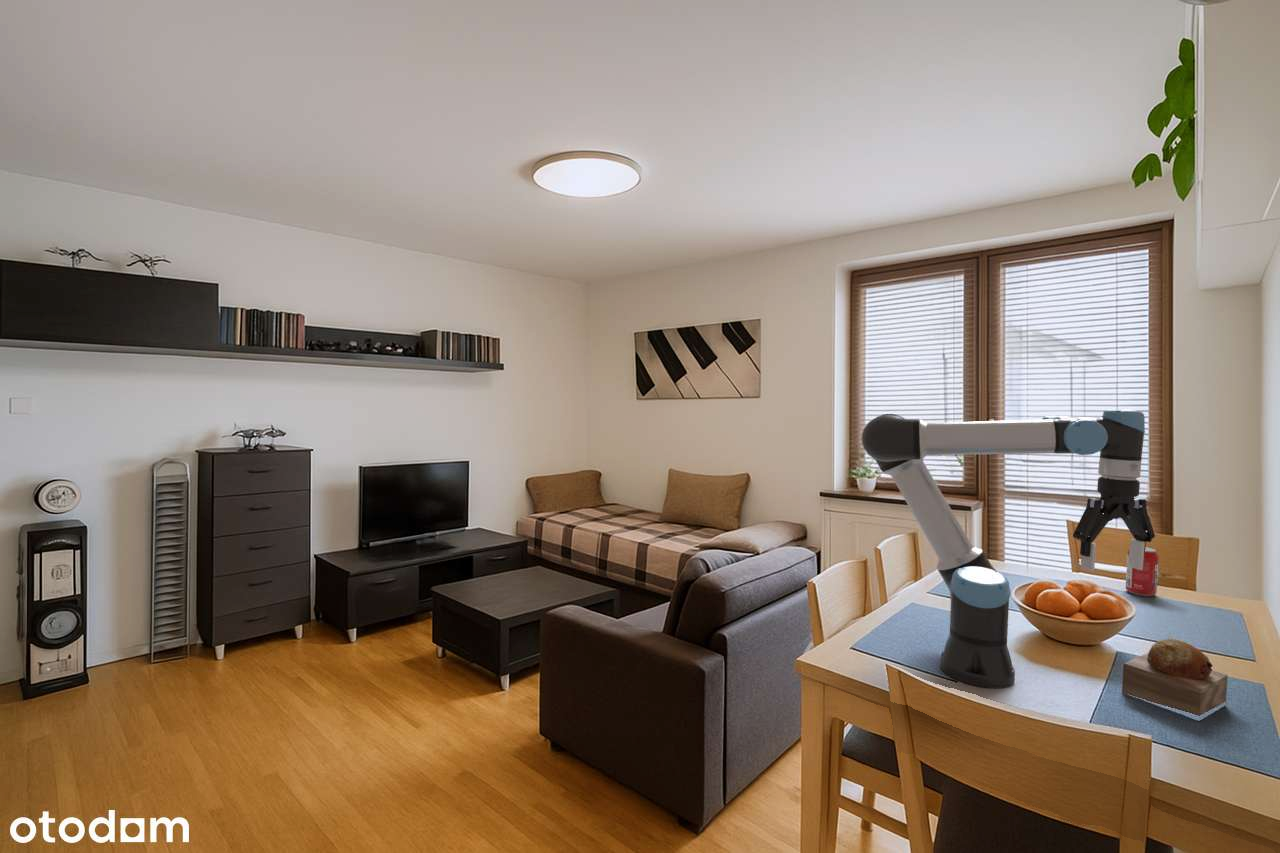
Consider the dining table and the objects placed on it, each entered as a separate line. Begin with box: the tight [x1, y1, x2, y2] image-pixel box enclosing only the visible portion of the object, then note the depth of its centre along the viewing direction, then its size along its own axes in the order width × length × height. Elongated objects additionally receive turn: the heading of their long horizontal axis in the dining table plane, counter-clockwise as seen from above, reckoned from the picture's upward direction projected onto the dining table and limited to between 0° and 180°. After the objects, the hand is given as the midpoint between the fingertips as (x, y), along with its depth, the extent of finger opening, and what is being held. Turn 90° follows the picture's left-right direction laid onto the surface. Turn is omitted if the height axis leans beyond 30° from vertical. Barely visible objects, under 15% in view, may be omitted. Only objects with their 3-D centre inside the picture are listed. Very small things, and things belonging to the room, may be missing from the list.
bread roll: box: [1147, 638, 1213, 679], centre depth 128 cm, size 10×10×8 cm
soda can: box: [1125, 546, 1160, 597], centre depth 198 cm, size 8×8×15 cm
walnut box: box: [1121, 652, 1229, 716], centre depth 129 cm, size 13×13×7 cm
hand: (1111, 569), depth 139 cm, fingers open, 13 cm apart
